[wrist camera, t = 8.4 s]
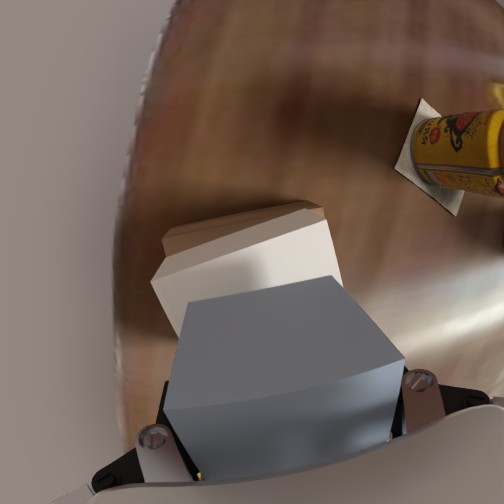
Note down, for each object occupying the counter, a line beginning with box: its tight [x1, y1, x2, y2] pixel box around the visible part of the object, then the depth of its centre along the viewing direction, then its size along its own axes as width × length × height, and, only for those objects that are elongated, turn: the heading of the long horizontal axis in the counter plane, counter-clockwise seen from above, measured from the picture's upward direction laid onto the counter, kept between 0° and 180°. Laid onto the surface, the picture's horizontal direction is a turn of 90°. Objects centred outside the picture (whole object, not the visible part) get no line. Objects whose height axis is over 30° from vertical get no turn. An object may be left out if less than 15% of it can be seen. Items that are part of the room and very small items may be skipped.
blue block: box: [163, 275, 405, 481], centre depth 10 cm, size 6×6×6 cm
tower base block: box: [162, 201, 324, 257], centre depth 21 cm, size 10×10×4 cm
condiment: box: [394, 99, 504, 216], centre depth 15 cm, size 7×8×12 cm
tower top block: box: [150, 208, 343, 338], centre depth 17 cm, size 9×9×4 cm
